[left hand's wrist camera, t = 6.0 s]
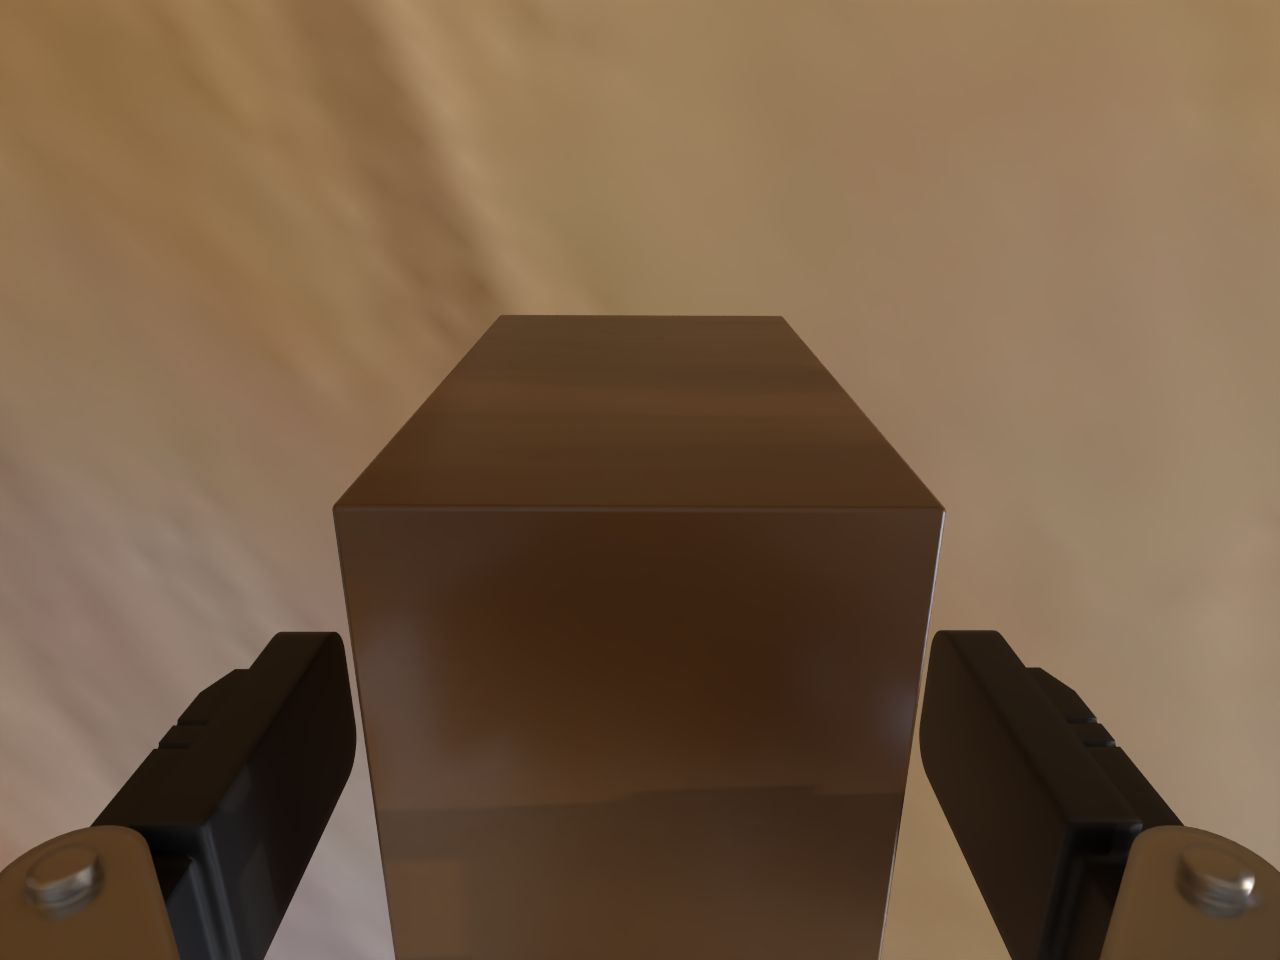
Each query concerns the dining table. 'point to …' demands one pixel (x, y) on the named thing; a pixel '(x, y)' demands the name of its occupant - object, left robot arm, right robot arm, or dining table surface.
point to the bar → (638, 647)
